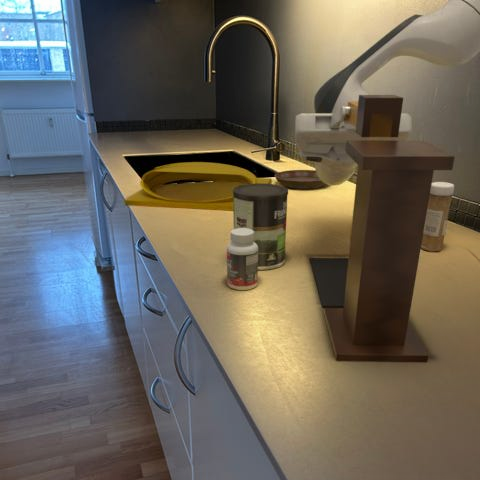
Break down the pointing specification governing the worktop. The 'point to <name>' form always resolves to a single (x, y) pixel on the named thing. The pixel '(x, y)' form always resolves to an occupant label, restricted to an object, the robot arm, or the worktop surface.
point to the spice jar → (437, 216)
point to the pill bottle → (242, 260)
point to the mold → (190, 172)
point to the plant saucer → (299, 179)
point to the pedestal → (385, 250)
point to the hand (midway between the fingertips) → (359, 110)
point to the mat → (330, 280)
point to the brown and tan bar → (376, 115)
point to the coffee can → (263, 219)
